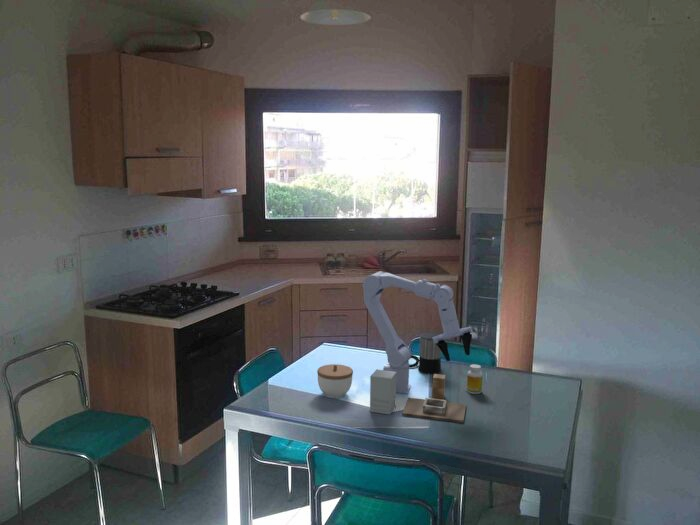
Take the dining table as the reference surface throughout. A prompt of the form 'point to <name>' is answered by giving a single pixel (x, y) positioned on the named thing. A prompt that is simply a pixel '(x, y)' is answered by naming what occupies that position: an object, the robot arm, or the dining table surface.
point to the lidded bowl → (334, 380)
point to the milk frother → (428, 355)
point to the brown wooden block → (438, 386)
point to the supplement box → (383, 391)
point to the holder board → (434, 409)
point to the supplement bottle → (474, 379)
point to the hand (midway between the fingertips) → (458, 357)
